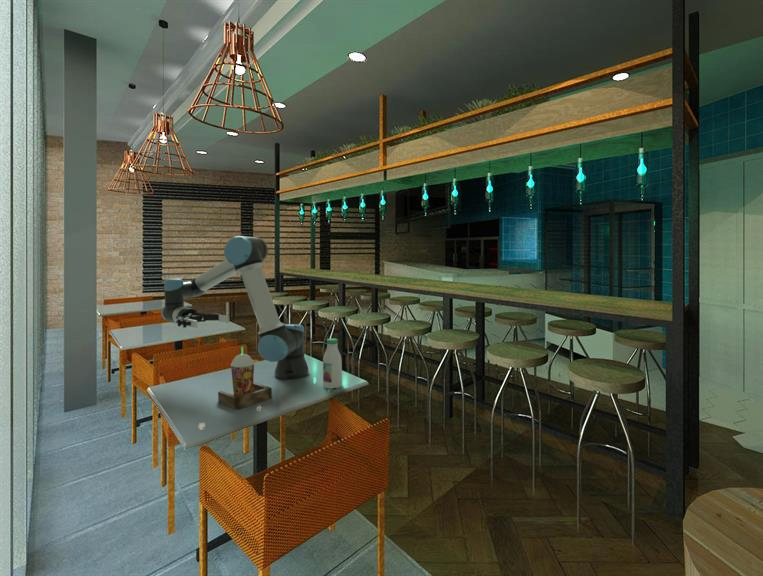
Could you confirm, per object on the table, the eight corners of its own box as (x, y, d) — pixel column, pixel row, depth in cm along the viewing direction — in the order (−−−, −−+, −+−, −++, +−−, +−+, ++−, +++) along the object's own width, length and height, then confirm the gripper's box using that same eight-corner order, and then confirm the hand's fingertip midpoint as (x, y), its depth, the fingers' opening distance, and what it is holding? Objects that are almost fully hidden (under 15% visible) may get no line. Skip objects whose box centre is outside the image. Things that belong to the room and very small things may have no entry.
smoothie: (227, 398, 156) (226, 346, 154) (248, 393, 162) (246, 343, 160) (238, 404, 150) (237, 350, 148) (259, 398, 156) (258, 346, 155)
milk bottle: (339, 382, 177) (339, 336, 175) (343, 388, 169) (343, 340, 167) (321, 384, 174) (321, 337, 172) (325, 390, 167) (324, 341, 165)
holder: (252, 391, 165) (252, 381, 165) (271, 397, 158) (271, 387, 158) (218, 402, 153) (218, 391, 153) (237, 409, 146) (236, 398, 146)
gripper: (213, 321, 187) (240, 326, 174) (156, 329, 167) (182, 336, 154) (212, 304, 186) (240, 308, 173) (155, 310, 166) (181, 316, 153)
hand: (212, 321), depth 163 cm, fingers open, 13 cm apart
